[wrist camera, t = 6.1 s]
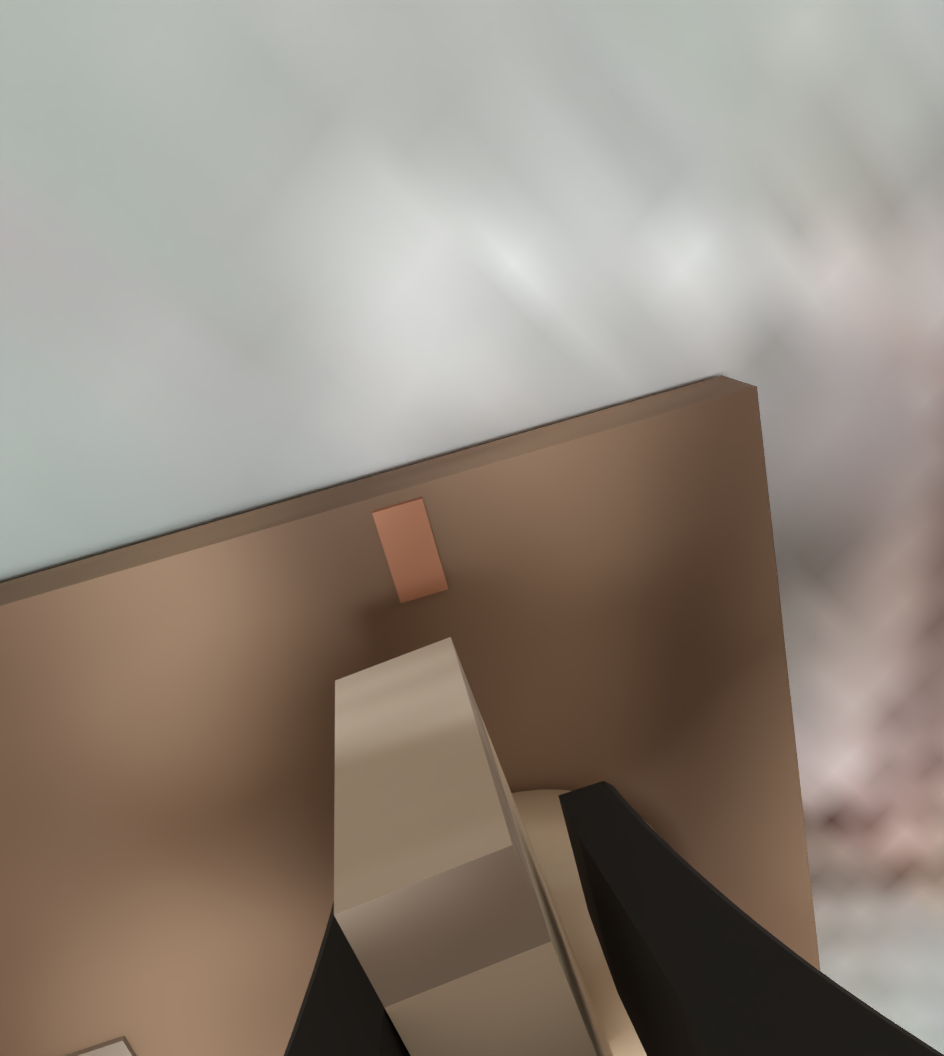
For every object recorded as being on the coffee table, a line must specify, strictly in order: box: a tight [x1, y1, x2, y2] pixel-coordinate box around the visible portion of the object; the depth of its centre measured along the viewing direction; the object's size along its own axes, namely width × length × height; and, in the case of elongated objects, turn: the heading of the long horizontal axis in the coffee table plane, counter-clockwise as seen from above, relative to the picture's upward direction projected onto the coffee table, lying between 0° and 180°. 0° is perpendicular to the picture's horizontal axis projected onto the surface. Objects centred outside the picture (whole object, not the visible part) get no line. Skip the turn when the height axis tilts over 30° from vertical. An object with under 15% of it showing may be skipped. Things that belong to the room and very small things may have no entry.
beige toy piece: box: [334, 637, 662, 1056], centre depth 11 cm, size 11×6×6 cm, turn 18°
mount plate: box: [0, 376, 820, 1056], centre depth 15 cm, size 16×16×1 cm
